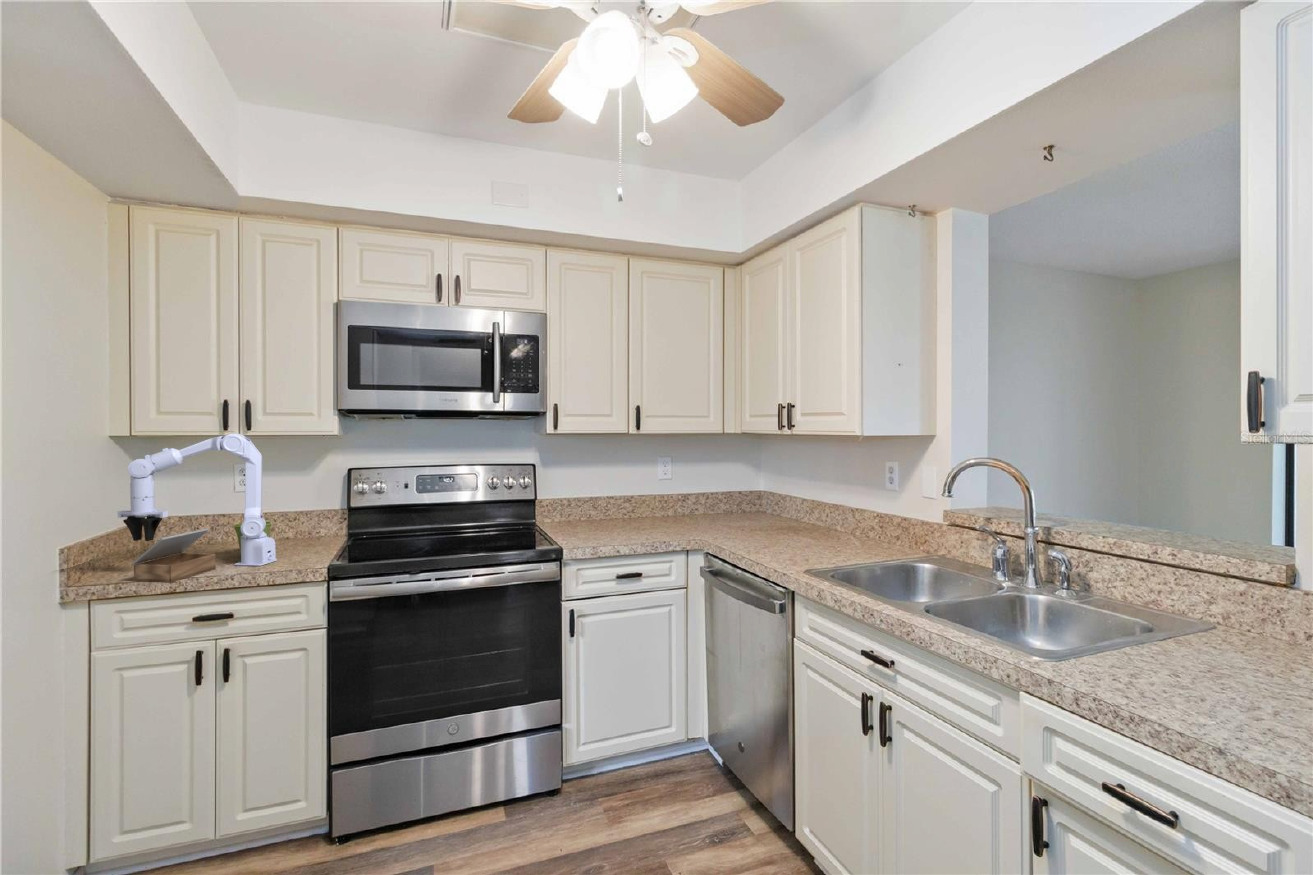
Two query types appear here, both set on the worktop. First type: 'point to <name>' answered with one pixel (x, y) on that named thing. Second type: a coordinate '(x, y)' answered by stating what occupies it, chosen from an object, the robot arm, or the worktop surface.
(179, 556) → the box base
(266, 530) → the plant pot
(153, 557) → the lid
